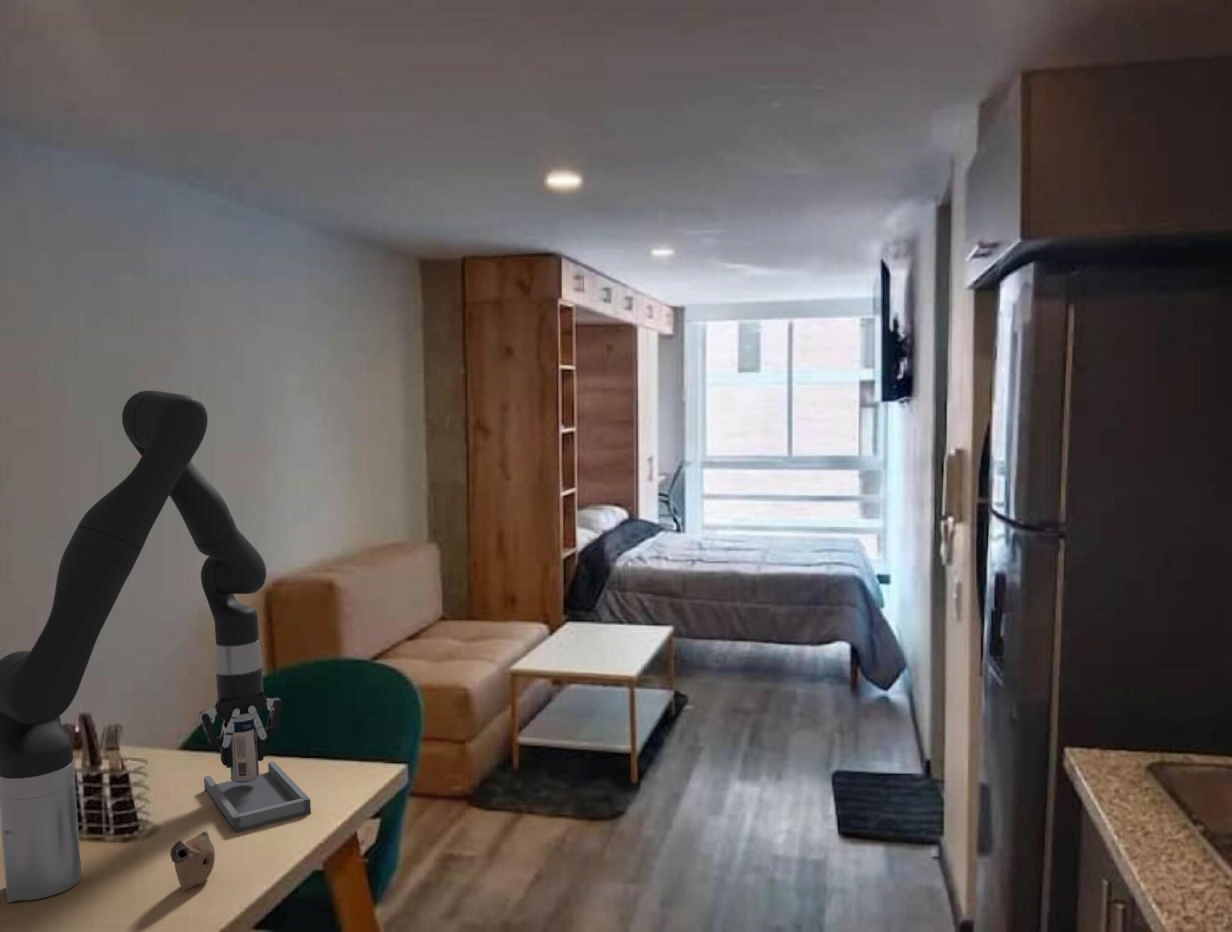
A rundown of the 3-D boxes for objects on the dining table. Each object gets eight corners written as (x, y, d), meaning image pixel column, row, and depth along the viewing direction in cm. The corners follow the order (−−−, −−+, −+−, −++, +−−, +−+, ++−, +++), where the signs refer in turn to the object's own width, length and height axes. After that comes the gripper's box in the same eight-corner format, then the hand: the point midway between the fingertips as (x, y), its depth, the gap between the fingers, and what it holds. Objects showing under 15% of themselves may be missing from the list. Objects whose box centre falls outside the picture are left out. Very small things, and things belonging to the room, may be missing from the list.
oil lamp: (188, 904, 133) (185, 846, 132) (160, 903, 133) (157, 846, 133) (223, 872, 142) (219, 818, 141) (196, 872, 142) (193, 818, 142)
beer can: (265, 776, 173) (261, 709, 172) (242, 786, 169) (238, 717, 168) (248, 772, 176) (244, 706, 175) (224, 781, 172) (220, 713, 171)
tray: (234, 833, 155) (233, 818, 155) (204, 790, 173) (203, 776, 173) (310, 813, 162) (310, 799, 161) (274, 773, 180) (273, 761, 180)
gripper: (199, 679, 164) (205, 779, 165) (286, 664, 172) (292, 759, 173) (190, 670, 170) (196, 766, 171) (275, 656, 178) (280, 748, 179)
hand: (244, 762), depth 172 cm, fingers closed on beer can, 4 cm apart
